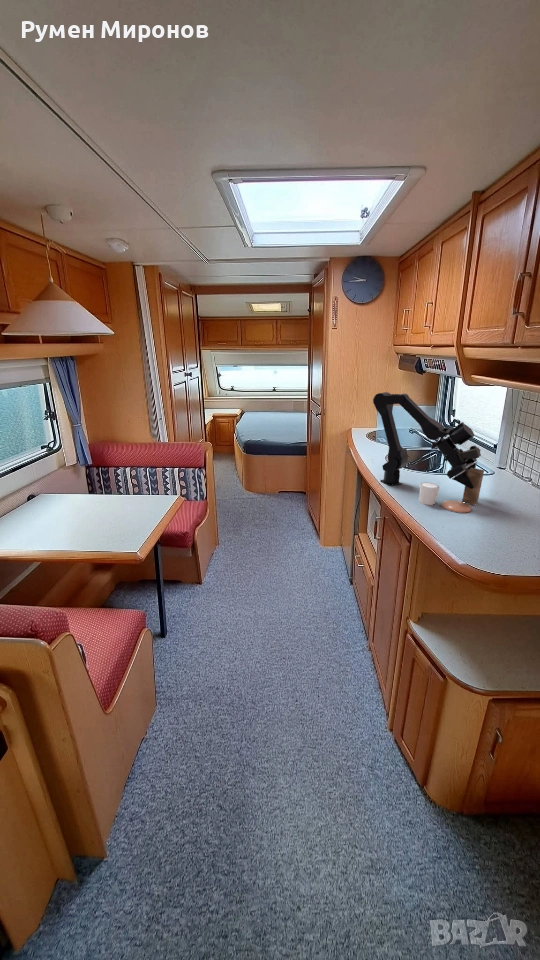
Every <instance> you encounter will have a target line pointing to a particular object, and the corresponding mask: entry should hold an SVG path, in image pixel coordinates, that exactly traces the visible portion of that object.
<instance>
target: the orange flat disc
mask: <svg viewBox="0 0 540 960" xmlns="http://www.w3.org/2000/svg"><path fill="white" fill-rule="evenodd" d="M441 507H442V508H443V507H444V508H443V509H445V510H446V509H447V511H449V510H450V511H449V512H452V511H454V512H453V513H457V512H460V513H459V514H467V513H466V512H468V513H470V512H471V511H472V505H470V504H466V503H463V502H462V501H458V500H444V501H442V503H441Z"/></svg>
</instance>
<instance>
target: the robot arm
mask: <svg viewBox="0 0 540 960" xmlns="http://www.w3.org/2000/svg"><path fill="white" fill-rule="evenodd" d="M372 404H373V405H374V407H375V410H376V411H377V412H378V414H379V415H380V417H381V421H382V426H383V429H384V435H385V437H386V442H387V445H388V452H387V453H388V454H387V462H385V463H384V464H383V465H382V470H383V472H384V475H383V479H380V482H382V483H383V484H385V485H387V486H399V485H402V482H401V481H400V476H401V475H400V472H401V471H400V469H403V466H405V465H406V464H407V463H408V460H409V458H410V456H409V454H408V450H407V448H406V447H405V448H403V447H402V444H401V443H400V438H399V435H398V434H399V433H398V431H397V427H396V422H395V420H394V419H395V418H394V415H393V407H394V405H400V406H401V407H402V409H403V410H404V411H406V412H407V414H408V415H409V416H411V417H412V418H413V419H414V421H415V422H417V423H418V425H419V426H420V428H421V430H422V432H423V434H424V435H425V437H426V438H427V439H428V440H430V441H432V443H431V447H430V450H434V449H436V448H437V449H438V450H439V452H440V453H441V454H442V456H443V457H444V458H443V460H444V461H445V462H448V464H449V465H450V466H451V467H450V469H449V470H448V471H447V472H446V476H447V477H448V478H449V479H450V480H452V481H456V482H457V483H459V484H461V485H464V487H465V486H467V487H468V488H470V489H473V488H474V486H473V484H472V482H471V481H470V479H469V477H468V475H467V473H468V470H469V469H470V468H475V469H477V467H476V466H477V464H478V458H480V457H481V456H482V454H481V451H482V450H481V449H480V448H479V447H478V446H476V445H471V446H470V447H469V449H467V450H463V449H462V448H458V446H457V445H459V446H461V445H463V444H465V443H466V442H467V441H469V440H471V439H472V438H473V437H475V433H474V431H473V430H472V428H471V427H470V426H468V425H467V424H465V423H464V422H463V421H462V422H460V423H458V425H456V426H455V427H454V428H448V427H445V426H444V425H443V424H442V423H440V422H439V421H437V420H436V419H434V418H432V417H431V416H429V415H428V414H426V412H425V411H424V409H422V408H421V407H420V406H418V404H417V403H416V402H415V400H413V399H412V398H411V397H410V396H409V394H407V393H390V392H388V391H385V392H379V393H376V394H375V395H374V397H373V400H372ZM447 436H448V437H447ZM445 437H446V438H445ZM438 439H439V440H438ZM435 440H437V441H435Z"/></svg>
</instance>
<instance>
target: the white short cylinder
mask: <svg viewBox="0 0 540 960" xmlns="http://www.w3.org/2000/svg"><path fill="white" fill-rule="evenodd" d="M439 491H440V485H438V484H436V483H434V482H428V481H427V482H425V481H424V482H421V483H419V496H418V497H419V499H418V502H419V503H420V504H422V505H425V504H426V506H433V504H434V505H435V504H436V500H437V497H438V495H439V494H438V493H439Z"/></svg>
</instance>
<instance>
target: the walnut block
mask: <svg viewBox="0 0 540 960" xmlns="http://www.w3.org/2000/svg"><path fill="white" fill-rule="evenodd" d="M484 472H485V469H480V468H476V469H475V468H470V469H469V470H468V473H467V475H468V477H469V479H470V481H471V482H472V484H473V486H474V488H473V489H470V488H468V487H467V486H465V485H464V489H463V495H462V501H461V502H465V503H469V504H468V505H470V504H472V505H471V506H474V505H475V504H476V505H477V504H478V502H479V497H480V493H481V488H482V483H483V479H484ZM476 505H475V506H476Z"/></svg>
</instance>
